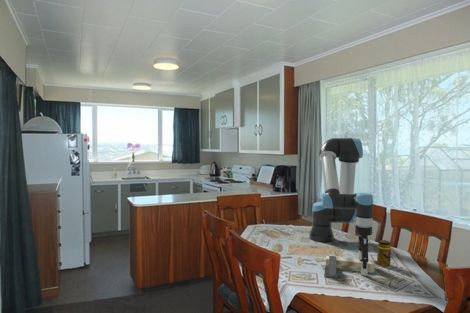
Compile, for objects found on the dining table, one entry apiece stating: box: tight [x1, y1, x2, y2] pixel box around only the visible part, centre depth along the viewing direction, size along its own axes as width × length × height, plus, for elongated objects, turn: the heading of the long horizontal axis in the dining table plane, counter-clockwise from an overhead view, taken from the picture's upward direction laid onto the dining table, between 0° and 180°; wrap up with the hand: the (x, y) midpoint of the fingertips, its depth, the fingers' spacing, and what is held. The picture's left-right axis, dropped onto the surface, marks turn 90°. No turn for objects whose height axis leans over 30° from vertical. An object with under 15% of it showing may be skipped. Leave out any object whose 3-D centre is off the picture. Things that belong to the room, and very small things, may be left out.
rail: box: [324, 255, 342, 279], centre depth 150 cm, size 10×7×6 cm
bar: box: [325, 255, 375, 274], centre depth 156 cm, size 22×4×4 cm, turn 74°
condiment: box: [372, 239, 393, 269], centre depth 161 cm, size 7×8×12 cm
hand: (362, 269), depth 155 cm, fingers open, 13 cm apart
